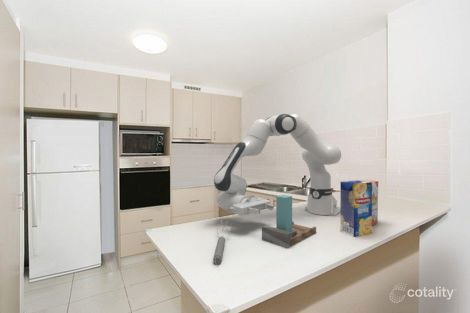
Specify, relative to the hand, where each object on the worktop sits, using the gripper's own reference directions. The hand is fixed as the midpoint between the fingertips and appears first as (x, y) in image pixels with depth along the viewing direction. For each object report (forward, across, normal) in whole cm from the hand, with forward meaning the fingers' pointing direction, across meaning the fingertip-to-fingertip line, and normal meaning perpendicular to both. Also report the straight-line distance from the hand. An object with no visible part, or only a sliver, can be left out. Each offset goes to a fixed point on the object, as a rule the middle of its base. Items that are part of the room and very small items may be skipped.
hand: (266, 209), depth 97 cm
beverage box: (+27, +28, +10) cm, 40 cm away
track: (+9, +5, +10) cm, 15 cm away
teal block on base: (+9, 0, +8) cm, 13 cm away
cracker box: (+27, +43, +10) cm, 52 cm away
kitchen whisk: (-4, -21, +11) cm, 24 cm away
